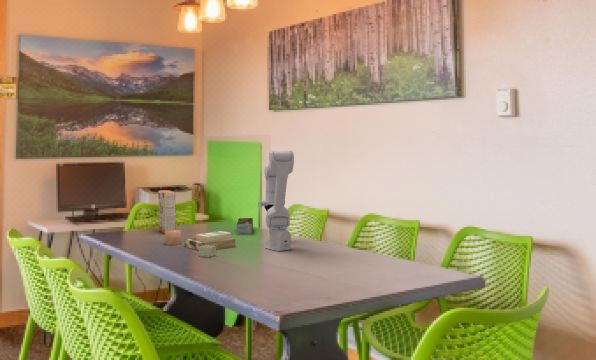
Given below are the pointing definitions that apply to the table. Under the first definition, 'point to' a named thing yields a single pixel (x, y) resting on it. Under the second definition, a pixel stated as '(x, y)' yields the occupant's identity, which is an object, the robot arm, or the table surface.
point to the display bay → (209, 243)
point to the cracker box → (166, 210)
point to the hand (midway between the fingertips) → (271, 220)
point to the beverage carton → (245, 226)
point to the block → (173, 237)
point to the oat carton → (213, 236)
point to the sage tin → (207, 251)
